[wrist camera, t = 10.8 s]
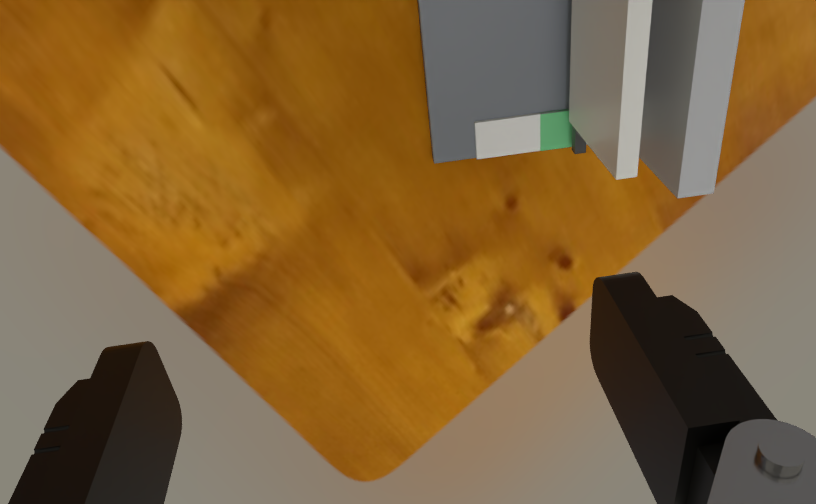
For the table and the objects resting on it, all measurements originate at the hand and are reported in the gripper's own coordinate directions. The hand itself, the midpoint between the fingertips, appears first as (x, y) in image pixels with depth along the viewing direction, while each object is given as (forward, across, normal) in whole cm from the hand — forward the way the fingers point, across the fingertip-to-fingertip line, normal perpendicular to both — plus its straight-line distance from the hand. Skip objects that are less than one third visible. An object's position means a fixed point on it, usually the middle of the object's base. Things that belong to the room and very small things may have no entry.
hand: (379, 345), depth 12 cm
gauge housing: (+20, -8, 0) cm, 21 cm away
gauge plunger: (+18, -9, +1) cm, 21 cm away
